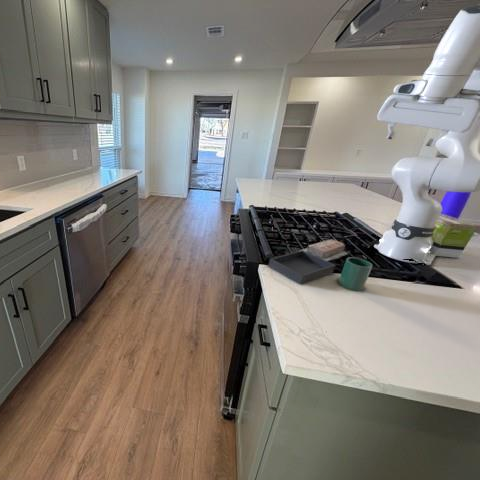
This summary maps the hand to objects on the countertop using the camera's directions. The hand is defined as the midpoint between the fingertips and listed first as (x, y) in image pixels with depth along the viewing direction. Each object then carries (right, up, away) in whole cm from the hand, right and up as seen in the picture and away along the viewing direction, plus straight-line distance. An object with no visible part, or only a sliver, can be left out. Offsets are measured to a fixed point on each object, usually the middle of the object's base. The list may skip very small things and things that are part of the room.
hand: (408, 142), depth 74 cm
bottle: (+74, -25, +59) cm, 98 cm away
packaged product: (-6, -35, +30) cm, 47 cm away
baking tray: (-22, -39, +18) cm, 48 cm away
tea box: (+47, -33, +38) cm, 69 cm away
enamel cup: (-10, -43, +10) cm, 46 cm away
